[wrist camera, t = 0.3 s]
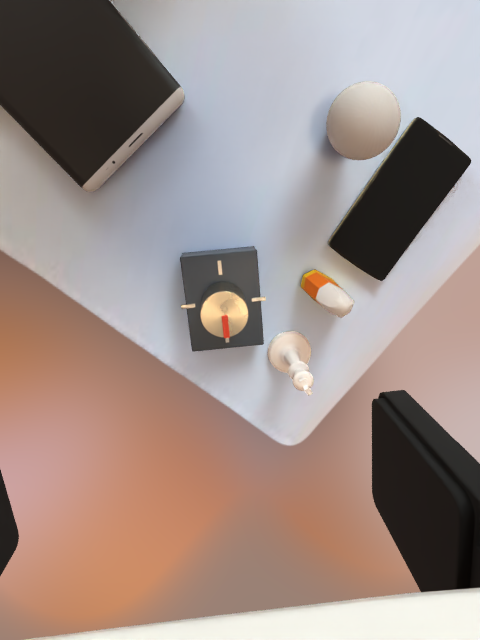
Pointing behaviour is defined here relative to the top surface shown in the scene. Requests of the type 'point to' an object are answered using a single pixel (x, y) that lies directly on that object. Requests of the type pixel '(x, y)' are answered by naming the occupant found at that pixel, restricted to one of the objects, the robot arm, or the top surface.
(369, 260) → the smartphone
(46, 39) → the tablet
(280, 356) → the chess piece
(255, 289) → the control panel
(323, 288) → the candy corn
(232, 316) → the dial knob
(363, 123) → the light bulb
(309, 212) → the top surface
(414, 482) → the robot arm
